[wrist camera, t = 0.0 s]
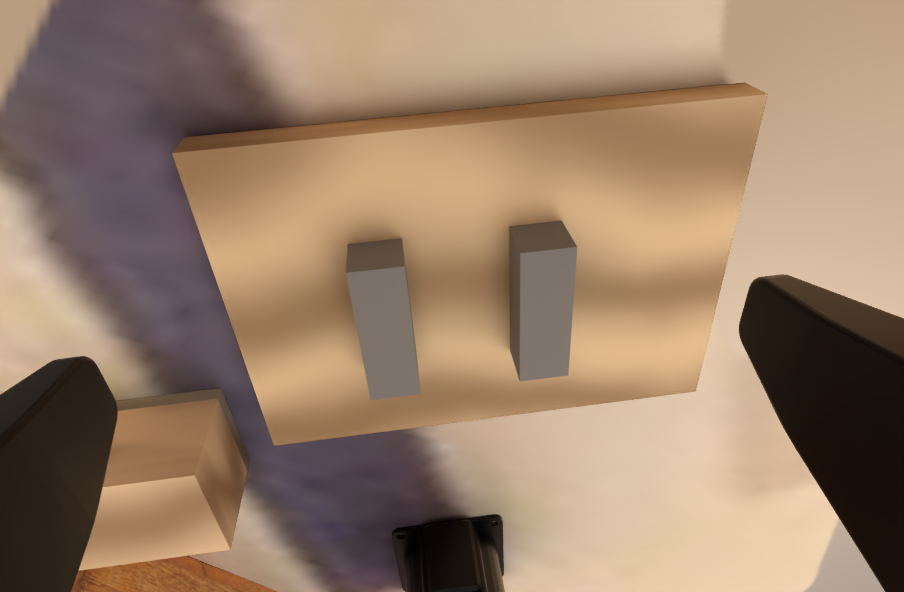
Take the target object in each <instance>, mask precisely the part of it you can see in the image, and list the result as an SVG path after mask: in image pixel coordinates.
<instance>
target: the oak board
mask: <svg viewBox="0 0 904 592" xmlns="http://www.w3.org/2000/svg"><path fill="white" fill-rule="evenodd" d="M767 95H768V94H766V93H764V92H762V91H760V90H758V89H756V88H754V87H752V86H750V85H748V84H746V83H736V84H726V85H716V86H706V87H695V88H685V89H675V90H665V91H654V92H644V93H634V94H624V95H613V96H603V97H593V98H583V99H572V100H562V101H552V102H542V103H531V104H521V105H511V106H501V107H490V108H480V109H470V110H460V111H449V112H439V113H429V114H419V115H408V116H398V117H388V118H378V119H367V120H357V121H347V122H337V123H326V124H316V125H306V126H295V127H285V128H275V129H265V130H254V131H244V132H234V133H224V134H213V135H203V136H193V137H184V138H183V139H182V141H181V142H180V143H179V145H178V146H177V147H176V148H175V150H174V151H173V152H172V155H173V158H174V161H175V164H176V166H177V169H178V172H179V175H180V178H181V181H182V184H183V186H184V189H185V192H186V195H187V198H188V201H189V204H190V207H191V209H192V212H193V215H194V218H195V221H196V224H197V227H198V229H199V232H200V235H201V238H202V241H203V244H204V247H205V250H206V252H207V255H208V258H209V261H210V264H211V267H212V270H213V273H214V275H215V278H216V281H217V284H218V287H219V290H220V293H221V295H222V298H223V301H224V304H225V307H226V310H227V313H228V316H229V318H230V321H231V324H232V327H233V330H234V333H235V336H236V338H237V341H238V344H239V347H240V350H241V353H242V356H243V359H244V361H245V364H246V367H247V370H248V373H249V376H250V379H251V381H252V384H253V387H254V390H255V393H256V396H257V399H258V402H259V404H260V407H261V410H262V413H263V416H264V419H265V422H266V424H267V427H268V430H269V433H270V436H271V439H272V442H273V445H274V446H276V445H284V444H292V443H299V442H307V441H315V440H323V439H330V438H338V437H346V436H354V435H361V434H369V433H377V432H385V431H392V430H400V429H408V428H416V427H423V426H431V425H439V424H447V423H454V422H462V421H470V420H478V419H485V418H493V417H501V416H509V415H516V414H524V413H532V412H540V411H547V410H555V409H563V408H571V407H578V406H586V405H594V404H602V403H609V402H617V401H625V400H633V399H640V398H648V397H656V396H664V395H671V394H679V393H687V392H695V391H696V388H697V384H698V380H699V376H700V372H701V368H702V364H703V359H704V355H705V351H706V347H707V343H708V339H709V335H710V331H711V326H712V322H713V318H714V314H715V310H716V306H717V302H718V298H719V293H720V289H721V285H722V281H723V277H724V273H725V268H726V264H727V260H728V256H729V252H730V248H731V244H732V240H733V236H734V231H735V227H736V223H737V219H738V215H739V211H740V207H741V203H742V198H743V194H744V190H745V186H746V182H747V178H748V174H749V169H750V165H751V161H752V157H753V153H754V149H755V145H756V141H757V136H758V132H759V128H760V124H761V120H762V116H763V112H764V108H765V104H766V99H767ZM553 221H562V222H563V223H564V225H565V227H566V228H567V230H568V232H569V234H570V235H571V237H572V239H573V240H574V242H575V244H576V246H577V259H576V273H575V287H574V302H573V316H572V330H571V345H570V359H569V373H568V376H560V377H552V378H544V379H536V380H528V381H521V382H520V381H519V378H518V375H517V371H516V368H515V365H514V361H513V358H512V355H511V352H510V275H509V226H517V225H526V224H535V223H544V222H553ZM399 238H402V242H403V249H404V257H405V265H406V273H407V281H408V289H409V297H410V305H411V313H412V321H413V329H414V337H415V345H416V353H417V361H418V371H419V381H420V391H421V394H417V395H409V396H401V397H393V398H385V399H377V400H371V399H370V394H369V389H368V384H367V379H366V374H365V369H364V364H363V359H362V353H361V348H360V343H359V338H358V333H357V328H356V323H355V318H354V313H353V308H352V302H351V297H350V292H349V287H348V282H347V277H346V261H347V246H348V244H353V243H362V242H371V241H380V240H389V239H399Z"/></svg>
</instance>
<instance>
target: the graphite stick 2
mask: <svg viewBox="0 0 904 592" xmlns="http://www.w3.org/2000/svg"><path fill="white" fill-rule="evenodd" d="M576 259H577V246H576V244H575V242H574V240H573V239H572V237H571V235H570V234H569V232H568V230H567V228H566V227H565V225H564V223H563V222H562V221H553V222H544V223H535V224H526V225H517V226H509V275H510V352H511V355H512V358H513V361H514V365H515V368H516V371H517V375H518V378H519V381H520V382H521V381H528V380H536V379H544V378H552V377H560V376H568V373H569V359H570V345H571V330H572V316H573V302H574V287H575V273H576Z"/></svg>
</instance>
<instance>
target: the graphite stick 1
mask: <svg viewBox="0 0 904 592" xmlns="http://www.w3.org/2000/svg"><path fill="white" fill-rule="evenodd" d="M346 277H347V282H348V287H349V292H350V297H351V302H352V308H353V313H354V318H355V323H356V328H357V333H358V338H359V343H360V348H361V353H362V359H363V364H364V369H365V374H366V379H367V384H368V389H369V394H370V399H371V400H377V399H385V398H393V397H401V396H409V395H417V394H421V391H420V381H419V371H418V361H417V353H416V345H415V337H414V329H413V321H412V313H411V305H410V297H409V289H408V281H407V273H406V265H405V257H404V249H403V242H402V238H399V239H389V240H380V241H371V242H362V243H353V244H348V246H347V261H346Z"/></svg>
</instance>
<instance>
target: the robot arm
mask: <svg viewBox="0 0 904 592" xmlns="http://www.w3.org/2000/svg"><path fill="white" fill-rule="evenodd" d="M739 334H740V338H741V341H742V344H743V346H744V348H745V350H746V352H747V354H748V356H749V358H750V360H751V362H752V365H753V367H754V369H755V371H756V373H757V375H758V377H759V379H760V381H761V383H762V385H763V387H764V389H765V391H766V393H767V396H768V398H769V400H770V402H771V404H772V406H773V408H774V410H775V412H776V414H777V416H778V418H779V420H780V422H781V424H782V426H783V428H784V429H785V431H786V433H787V435H788V436H789V438H790V440H791V442H792V443H793V445H794V447H795V448H796V450H797V451H798V453H799V455H800V456H801V458H802V459H803V461H804V463H805V464H806V466H807V467H808V469H809V471H810V472H811V474H812V475H813V477H814V479H815V480H816V482H817V483H818V485H819V487H820V488H821V490H822V491H823V493H824V495H825V496H826V498H827V499H828V501H829V503H830V504H831V506H832V507H833V509H834V511H835V512H836V514H837V515H838V517H839V519H840V520H841V522H842V523H843V525H844V526H845V528H846V530H847V531H848V533H849V535H850V536H851V538H852V539H853V541H854V542H855V544H856V546H857V547H858V549H859V551H860V552H861V554H862V555H863V557H864V558H865V560H866V562H867V563H868V565H869V567H870V568H871V570H872V571H873V573H874V574H875V576H876V578H877V579H878V581H879V582H880V584H881V586H882V587H883V589H884V591H885V592H904V319H903V318H901V317H898V316H895V315H893V314H890V313H887V312H885V311H882V310H879V309H877V308H874V307H872V306H869V305H866V304H864V303H861V302H858V301H856V300H853V299H850V298H847V297H845V296H842V295H840V294H837V293H834V292H832V291H829V290H826V289H824V288H821V287H818V286H815V285H812V284H810V283H808V282H805V281H802V280H799V279H797V278H794V277H792V276H789V275H774V276H765V277H758V278H757V279H755V280H754V281H753V282H752V283H751V285H750V287H749V290H748V294H747V298H746V302H745V305H744V309H743V312H742V316H741V319H740V324H739ZM117 418H118V408H117V403H116V400H115V398H114V396H113V394H112V392H111V391H110V389H109V387H108V385H107V383H106V381H105V379H104V378H103V376H102V374H101V372H100V370H99V368H98V367H97V365H96V363H95V362H94V361H93V360H92V359H91V358H88V357H85V356H81V357H73V358H64V359H57V360H54V361H51V362H50V363H48V364H46V365H45V366H43V367H42V368H40V369H39V370H37V371H36V372H34V373H33V374H31V375H30V376H28V377H27V378H25V379H24V380H22V381H21V382H19V383H18V384H16V385H15V386H13V387H11V388H10V389H8V390H7V391H5V392H4V393H2V394H1V395H0V592H72V589H73V586H74V583H75V580H76V577H77V574H78V571H79V568H80V565H81V562H82V559H83V556H84V553H85V550H86V547H87V545H88V542H89V538H90V535H91V532H92V529H93V525H94V522H95V518H96V514H97V510H98V506H99V502H100V497H101V493H102V488H103V483H104V479H105V474H106V470H107V465H108V460H109V456H110V451H111V447H112V442H113V437H114V433H115V428H116V424H117ZM493 521H496V522H493ZM399 534H404V535H399ZM392 539H393V544H394V549H395V554H396V559H397V563H398V568H399V573H400V578H401V583H402V588H403V590H404V591H406V592H505V590H504V585H503V580H502V576H503V575H504V562H503V522H502V518H501V516H500V515H488V516H480V517H473V518H466V519H459V520H452V521H444V522H437V523H430V524H423V525H416V526H408V527H401V528H397V529H395V530H394V531H393V532H392Z"/></svg>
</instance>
